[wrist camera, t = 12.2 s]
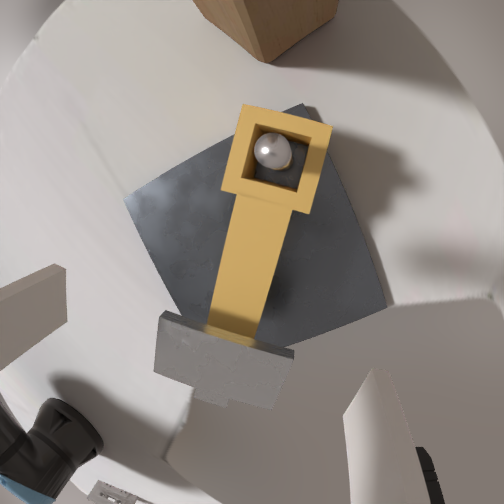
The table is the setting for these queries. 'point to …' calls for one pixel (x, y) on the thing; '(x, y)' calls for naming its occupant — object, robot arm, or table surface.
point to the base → (292, 252)
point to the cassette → (110, 494)
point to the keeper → (220, 362)
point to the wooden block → (267, 22)
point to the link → (260, 215)
